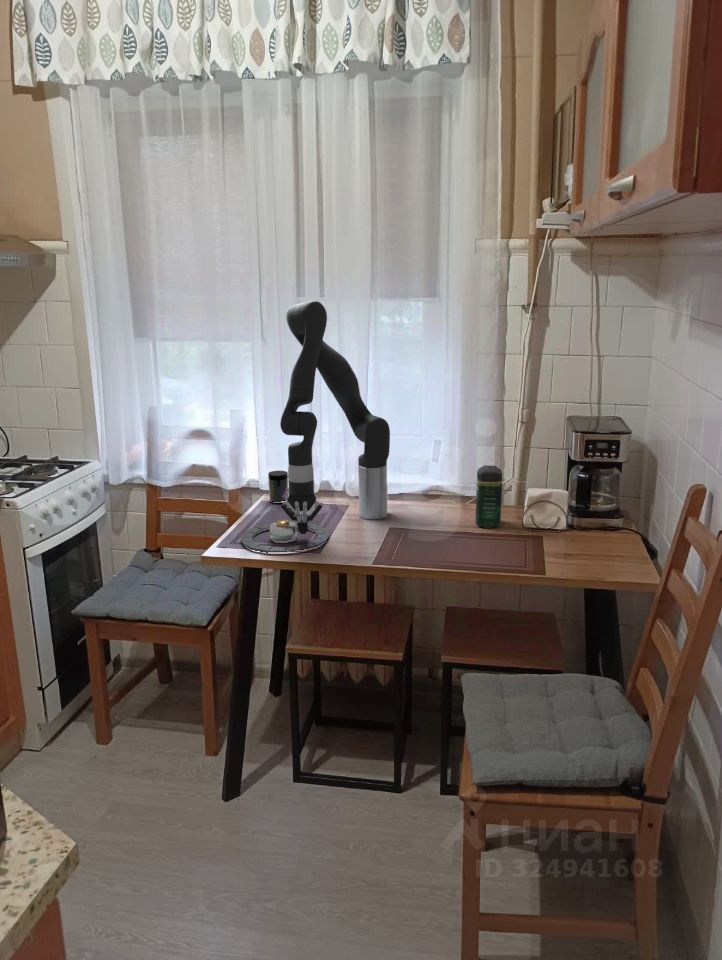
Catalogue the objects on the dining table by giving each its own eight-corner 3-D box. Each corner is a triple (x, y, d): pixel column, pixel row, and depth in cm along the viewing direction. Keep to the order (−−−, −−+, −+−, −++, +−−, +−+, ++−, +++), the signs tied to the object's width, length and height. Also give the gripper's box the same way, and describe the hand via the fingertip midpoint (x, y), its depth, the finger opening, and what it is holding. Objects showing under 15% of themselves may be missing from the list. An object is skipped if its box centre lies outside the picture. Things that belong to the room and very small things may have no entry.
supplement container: (281, 505, 272) (280, 476, 269) (265, 503, 275) (264, 474, 272) (292, 500, 278) (291, 471, 275) (276, 497, 281) (275, 469, 278)
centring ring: (332, 525, 250) (332, 522, 250) (321, 555, 226) (321, 551, 225) (252, 524, 253) (252, 521, 252) (232, 553, 228) (232, 550, 227)
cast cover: (298, 535, 243) (297, 517, 241) (294, 544, 235) (294, 525, 234) (272, 534, 243) (271, 517, 242) (268, 543, 236) (267, 525, 234)
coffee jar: (501, 529, 245) (503, 471, 240) (475, 528, 246) (477, 471, 241) (500, 519, 254) (502, 463, 249) (475, 518, 255) (476, 463, 250)
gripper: (324, 474, 236) (326, 529, 241) (281, 474, 238) (283, 528, 242) (321, 481, 229) (323, 537, 234) (276, 481, 230) (279, 537, 235)
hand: (303, 533), depth 238 cm, fingers closed
